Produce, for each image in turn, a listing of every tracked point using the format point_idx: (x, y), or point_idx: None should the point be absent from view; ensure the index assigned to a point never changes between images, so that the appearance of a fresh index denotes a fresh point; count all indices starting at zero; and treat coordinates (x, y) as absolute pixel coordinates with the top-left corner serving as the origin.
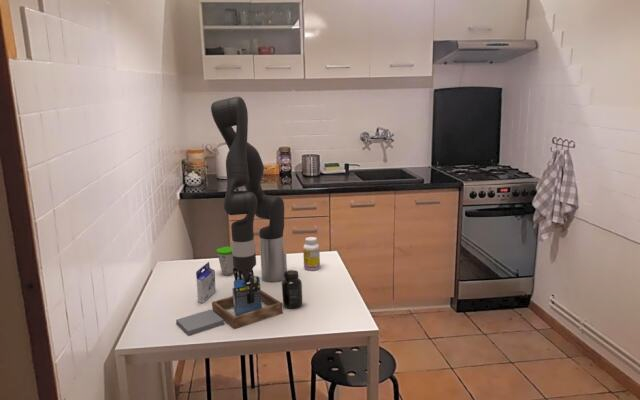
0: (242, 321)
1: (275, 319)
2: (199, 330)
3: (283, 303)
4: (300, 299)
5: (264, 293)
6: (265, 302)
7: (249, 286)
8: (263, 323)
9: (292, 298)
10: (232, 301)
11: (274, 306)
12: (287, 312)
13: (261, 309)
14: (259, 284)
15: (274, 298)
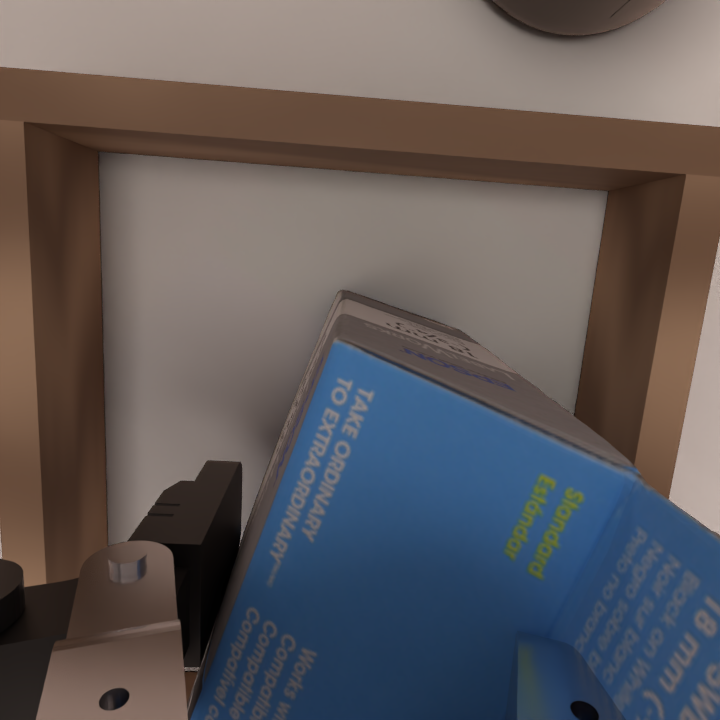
0: None
1: (709, 320)
2: None
3: (551, 17)
4: None
5: (235, 115)
6: (299, 163)
7: (503, 709)
8: (679, 462)
9: None
10: (75, 527)
11: (704, 271)
12: (684, 103)
13: (668, 472)
14: (622, 477)
15: (516, 112)
